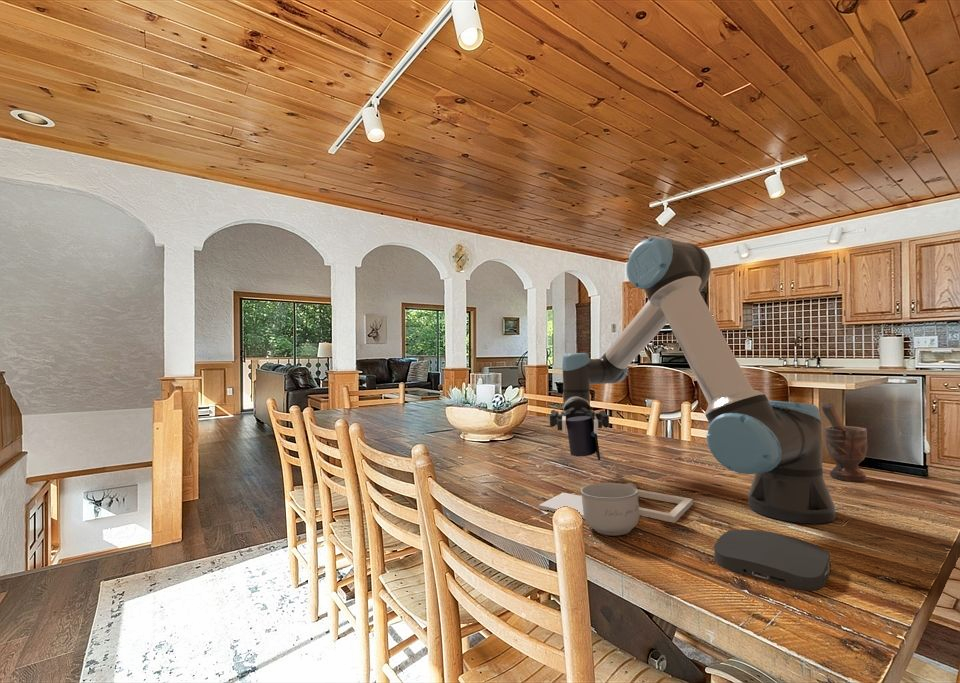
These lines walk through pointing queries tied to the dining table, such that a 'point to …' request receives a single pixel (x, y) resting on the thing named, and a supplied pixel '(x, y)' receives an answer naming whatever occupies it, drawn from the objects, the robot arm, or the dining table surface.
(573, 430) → the speaker
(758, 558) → the media streaming box
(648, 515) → the picture frame
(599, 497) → the teacup
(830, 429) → the mortar and pestle
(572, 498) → the mat
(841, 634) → the dining table surface
